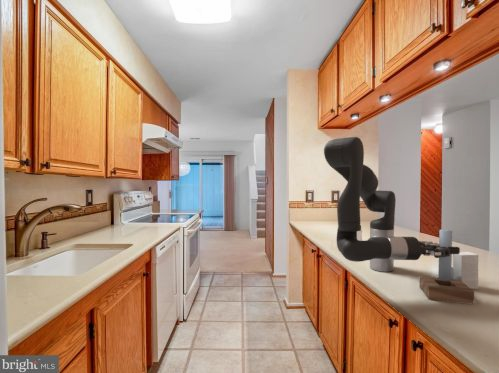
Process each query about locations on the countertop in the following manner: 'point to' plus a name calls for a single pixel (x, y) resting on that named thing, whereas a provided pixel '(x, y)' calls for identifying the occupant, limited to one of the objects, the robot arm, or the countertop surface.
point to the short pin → (452, 273)
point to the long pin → (445, 262)
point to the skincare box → (466, 268)
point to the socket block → (446, 290)
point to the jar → (359, 234)
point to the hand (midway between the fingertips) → (454, 248)
